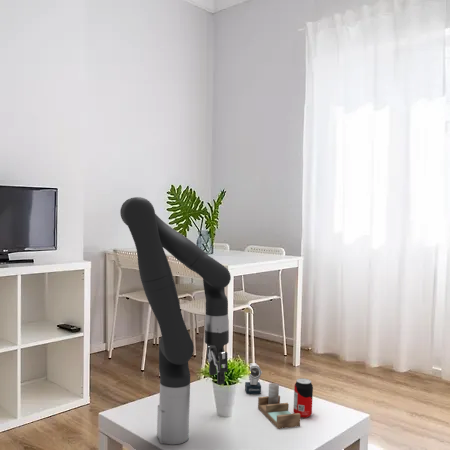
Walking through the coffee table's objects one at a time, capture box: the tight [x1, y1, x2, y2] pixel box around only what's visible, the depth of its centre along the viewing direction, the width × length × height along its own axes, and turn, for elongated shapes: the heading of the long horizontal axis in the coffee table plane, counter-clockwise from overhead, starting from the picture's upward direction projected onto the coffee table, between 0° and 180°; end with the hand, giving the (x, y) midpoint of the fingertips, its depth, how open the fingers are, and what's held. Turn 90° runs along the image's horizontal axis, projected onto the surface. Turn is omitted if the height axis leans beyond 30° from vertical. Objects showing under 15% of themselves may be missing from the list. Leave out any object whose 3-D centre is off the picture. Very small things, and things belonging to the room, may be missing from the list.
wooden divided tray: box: [257, 382, 301, 429], centre depth 175 cm, size 8×17×10 cm, turn 18°
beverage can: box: [292, 377, 314, 419], centre depth 177 cm, size 6×6×12 cm
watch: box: [244, 362, 263, 395], centre depth 197 cm, size 6×8×11 cm
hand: (216, 379), depth 161 cm, fingers open, 8 cm apart
